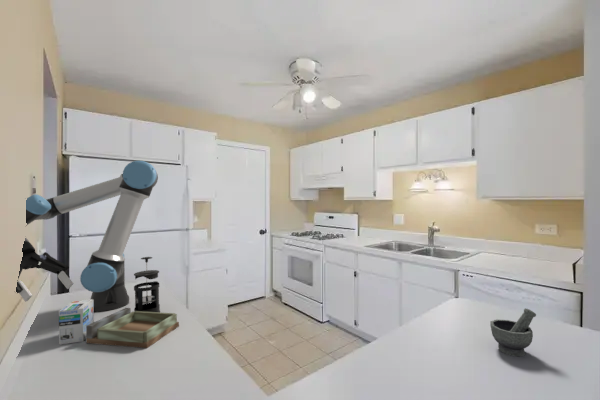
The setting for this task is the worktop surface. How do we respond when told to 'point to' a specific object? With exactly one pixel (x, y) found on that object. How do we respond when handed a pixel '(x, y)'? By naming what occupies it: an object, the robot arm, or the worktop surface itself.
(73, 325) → the light bulb box
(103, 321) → the wooden drawer tray
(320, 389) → the worktop surface
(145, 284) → the french press
